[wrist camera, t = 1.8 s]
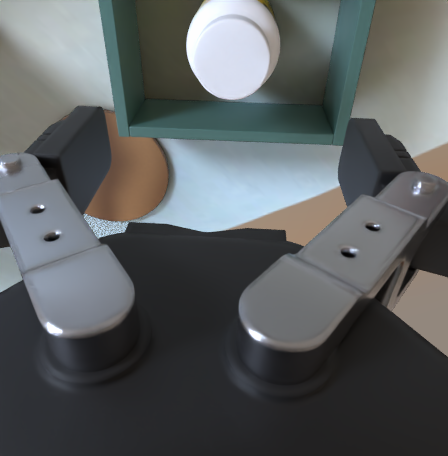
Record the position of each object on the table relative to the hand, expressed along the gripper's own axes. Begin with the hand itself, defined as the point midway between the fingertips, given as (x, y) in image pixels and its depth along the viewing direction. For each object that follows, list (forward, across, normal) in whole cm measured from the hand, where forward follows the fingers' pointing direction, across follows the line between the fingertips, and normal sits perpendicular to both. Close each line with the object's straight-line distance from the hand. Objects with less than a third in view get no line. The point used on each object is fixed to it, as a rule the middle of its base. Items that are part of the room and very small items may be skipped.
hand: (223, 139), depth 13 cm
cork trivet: (+19, +11, +12) cm, 25 cm away
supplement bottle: (+19, 0, 0) cm, 19 cm away
